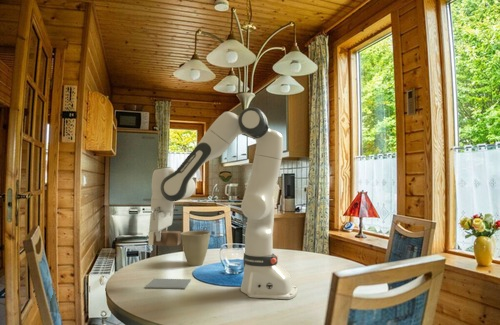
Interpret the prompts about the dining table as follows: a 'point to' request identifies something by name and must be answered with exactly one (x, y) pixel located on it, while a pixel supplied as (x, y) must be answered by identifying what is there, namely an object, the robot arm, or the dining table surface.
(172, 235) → the walnut block
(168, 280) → the grey mat
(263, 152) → the robot arm
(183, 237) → the plant pot
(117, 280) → the dining table surface
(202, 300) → the dining table surface
